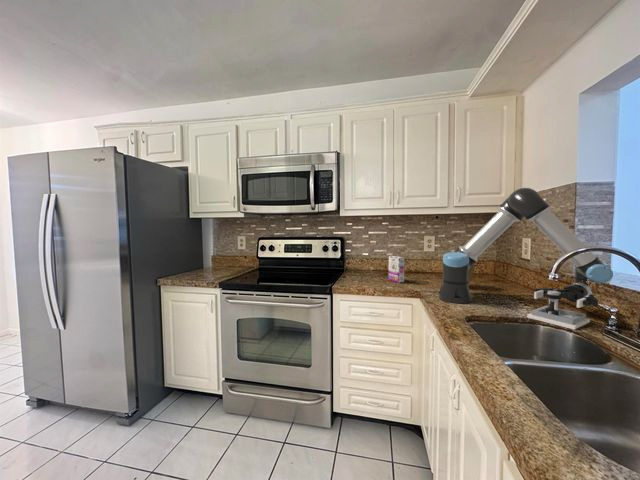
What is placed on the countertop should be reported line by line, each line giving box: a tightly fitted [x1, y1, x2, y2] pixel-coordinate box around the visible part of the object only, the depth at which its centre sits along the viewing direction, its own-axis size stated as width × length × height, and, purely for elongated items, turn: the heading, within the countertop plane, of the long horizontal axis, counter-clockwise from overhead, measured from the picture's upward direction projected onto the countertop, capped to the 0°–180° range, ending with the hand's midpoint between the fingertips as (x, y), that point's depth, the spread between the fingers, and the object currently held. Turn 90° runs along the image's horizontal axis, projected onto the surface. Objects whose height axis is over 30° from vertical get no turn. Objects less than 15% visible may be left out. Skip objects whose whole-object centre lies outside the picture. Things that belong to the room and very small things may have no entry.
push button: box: [545, 291, 562, 316], centre depth 111 cm, size 7×5×10 cm
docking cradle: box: [526, 305, 591, 330], centre depth 110 cm, size 15×15×3 cm
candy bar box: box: [387, 255, 406, 284], centre depth 182 cm, size 11×5×16 cm, turn 23°
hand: (555, 299), depth 108 cm, fingers open, 13 cm apart
